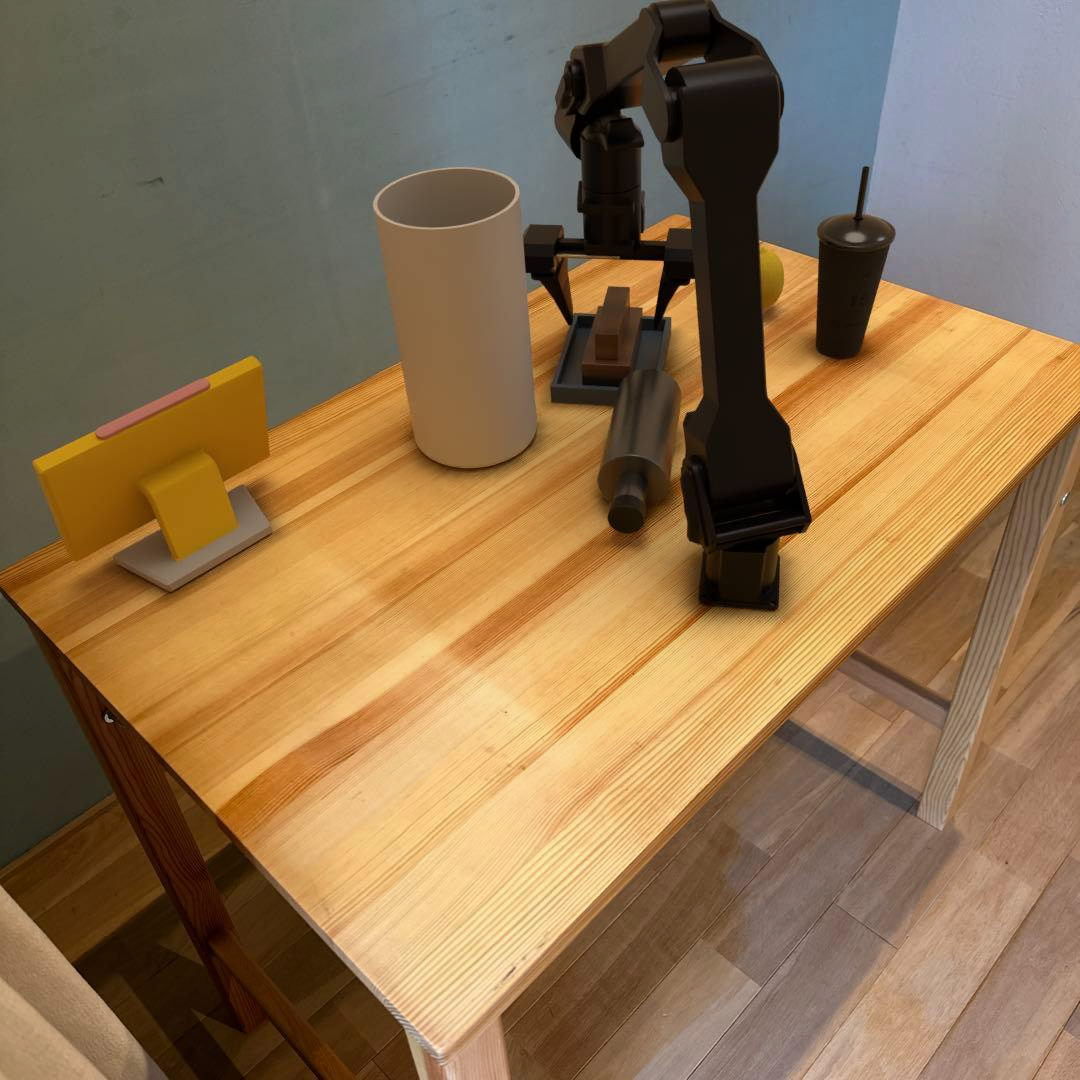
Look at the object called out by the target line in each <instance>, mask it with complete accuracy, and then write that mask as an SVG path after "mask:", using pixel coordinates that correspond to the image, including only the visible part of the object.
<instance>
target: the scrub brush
mask: <svg viewBox="0 0 1080 1080" xmlns="http://www.w3.org/2000/svg"><path fill="white" fill-rule="evenodd" d="M643 311H644V308H643V307H641V306H631V288H630V286H617V285H616V286H615V285H613V286H612V285H608V286H607V289H606V293H605V296H604V299H603V304H602V305H598V306H597V309H596V312H595V314H596V315H595V319H594V322H593V326H592V329H591V333H590V336H589V339H588V343H587V346H586V350H585V353H584V357H583V360H582V385H588V386H607V387H619V385H620V383H621V381H622V380H623V379H624V378H625V377H626V376H627V375H628V374H630V373H632V372H633V371H635V367H636V362H637V358H638V353H639V348H640V344H641V339H642V329H643V320H642V319H643V316H644V314H643Z"/></svg>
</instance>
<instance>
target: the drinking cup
mask: <svg viewBox="0 0 1080 1080" xmlns="http://www.w3.org/2000/svg"><path fill="white" fill-rule="evenodd" d="M861 169H862V170H861V174H860V175H861V176H860V182H859V188H858V194H857V201H856V208H855V212H849V213H843V214H835V215H832V216H829V217H827V218H825V219H823V220H822V221H821V222H820V223H819V224H818V225H817V228H816V235H817V238H818V262H817V263H818V264H817V265H818V267H817V294H816V295H817V296H816V320H815V321H816V323H815V324H816V326H815V349H816V350H817V352H818V353H819V354H821V355H822V356H825V357H827V358H831V359H836V360H844V359H845V360H846V359H850V358H853V357H856V356H857V355H858V354H860V352H861V350H862V347H863V343H864V340H865V336H866V333H867V329H868V325H869V321H870V318H871V315H872V311H873V308H874V304H875V300H876V297H877V294H878V290H879V287H880V282H881V280H882V276H883V272H884V269H885V266H886V261H887V258H888V255H889V251H890V247H891V244H892V243H893V242H894V241H895V238H896V234H897V231H896V228H895V227H894V225H893V224H892V223H890V222H889V221H887V220H885V219H884V218H882V217H881V218H880V217H878V216H874V215H872V214H869V213H863V212H864V207H865V200H866V195H867V189H868V182H869V175H870V171H871V170H870V169H871V167H870V166H869V165H868V166H867V165H865V166H864V165H863V167H862V168H861Z"/></svg>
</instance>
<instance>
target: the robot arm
mask: <svg viewBox="0 0 1080 1080" xmlns="http://www.w3.org/2000/svg"><path fill="white" fill-rule="evenodd" d="M638 14H639V15H638V17H637V18H636V19H635V20H633V21H632V22H631V23H630V24H628V25H627V26H626V27H625V28H624V29H622V30H621V31H620V32H618V33H617V34H616V35H615V36H614V37H612V38H611V39H610V40H604V41H598V42H592V43H584V44H583V43H582V44H579V45H578V44H577V45H574V46H573V47H572V49H571V51H570V55H569V60H566V61H565V63H564V68H563V74H562V76H561V78H560V80H559V83H558V87H557V89H556V93H555V95H554V100H555V106H556V109H555V113H554V116H553V122H554V127H555V129H556V131H557V132H556V133H557V134H558V136H559V137H560V138H561V139H562V140H563V142H564V144H566V146H567V147H568V148H569V150H570V151H571V152H572V154H573V155H574V156H575V158H576V159H577V160H579V161H580V164H581V166H580V168H581V180H578V187H577V193H576V212H577V213H578V214H582V232H583V238H579V237H577V238H576V237H565V228H564V226H563V224H537V223H530V224H529V225H528V226H527V227H526V228H525V230H524V231H523V244H524V257H525V271H526V274H530V279H531V280H533V281H537V282H540V283H541V285H542V286H543V288H545V290H546V291H547V293H548V294H549V295H550V297H551V298H552V299H553V301H554V304H556V306H557V308H558V310H559V312H560V313H561V315H562V317H563V319H564V321H565V323H566V324H567V326H570V325H572V323H573V314H574V305H573V298H572V291H571V284H570V278H569V259H583V260H584V259H585V260H587V259H588V260H611V261H612V260H613V261H614V260H615V261H619V260H620V261H646V262H663V263H662V264H663V266H662V270H661V275H660V280H659V286H658V292H657V299H656V304H655V311H654V315H653V316H654V329H658V328H659V325H660V323H661V320H662V318H663V317H665V316H664V315H665V312H666V311H667V308H668V306H669V303H671V301H672V299H673V297H674V296H675V294H676V292H677V291H678V289H679V288H680V287H686V286H689V285H690V284H691V280H694V286H695V287H694V289H695V300H696V313H697V326H698V328H697V329H698V340H699V342H698V343H699V353H700V355H699V356H700V366H701V367H700V368H701V380H702V397H701V399H700V401H699V403H698V405H697V406H696V409H695V410H691V411H687V412H686V413H685V415H684V419H683V421H682V429H683V437H684V458H683V459H682V461H681V467H680V468H679V469H680V477H679V483H680V489H681V495H682V501H683V512H684V515H685V519H686V538H687V540H688V541H689V542H690V543H694V544H697V545H698V546H701V548H702V549H703V550H702V557H701V558H702V559H701V565H700V566H701V567H700V577H699V586H698V596H697V598H698V599H697V600H698V603H699V604H701V605H707V606H718V607H729V608H738V609H739V608H740V609H750V610H761V611H777V610H779V607H780V581H781V580H780V579H781V578H780V577H781V556H780V555H779V550H780V544H781V543H780V542H781V538H782V537H786V536H787V537H788V536H792V535H796V534H798V535H802V534H805V533H807V531H808V530H809V528H810V526H811V524H812V522H813V517H812V514H811V509H810V506H809V505H810V503H809V501H808V498H807V493H806V489H805V484H804V480H803V476H802V472H801V466H800V464H799V459H798V454H797V451H796V448H795V446H794V444H793V441H792V432H791V427H790V425H789V424H788V422H787V421H786V419H785V418H784V417H783V415H782V414H781V413H780V412H779V410H778V408H776V406H775V405H774V403H773V402H772V401H771V399H770V398H769V396H768V389H767V388H768V387H767V369H766V367H767V366H766V347H765V325H764V309H763V305H762V284H761V264H760V247H761V246H760V227H759V226H760V225H759V205H758V203H759V202H758V201H759V200H758V199H759V198H758V197H759V196H758V195H759V192H760V191H761V189H762V186H763V184H764V182H765V180H766V178H767V176H768V175H769V172H770V171H771V169H772V166H773V164H774V162H775V161H776V158H777V156H778V154H779V152H780V136H781V133H780V132H781V120H782V117H783V114H784V110H785V90H784V83H783V81H782V78H781V75H780V74H779V72H778V70H777V69H776V66H775V65H774V63H773V62H772V60H771V58H770V56H769V55H768V53H767V51H766V49H765V48H764V46H763V44H762V42H761V41H760V40H759V38H756V37H755V36H753V35H752V34H750V33H748V32H747V31H745V30H743V29H742V28H740V27H738V26H737V25H735V24H733V23H731V22H730V21H729V20H726V19H725V18H723V17H722V15H721V14H720V12H719V10H718V7H717V6H716V4H715V3H714V1H712V0H663V1H662V0H661V1H656V2H655V1H654V2H650V4H649V5H648V6H647V7H642V8H641V9H640V11H639V13H638ZM701 58H703V59H704V62H703V61H702V62H697V63H689V62H690V61H692V60H694V59H701ZM687 63H689V64H687ZM664 76H665V77H664ZM640 107H641V108H642V110H643V112H644V114H645V117H646V119H647V122H648V123H649V125H650V127H651V129H652V132H653V134H654V136H655V138H656V139H657V141H658V143H659V144H660V151H661V159H662V165H663V166H664V169H665V170H666V171H667V173H668V174H669V175H670V177H671V178H672V179H673V181H674V182H675V184H676V185H677V186H678V188H679V189H680V191H681V192H682V193H683V195H684V196H685V198H686V199H687V201H688V209H689V221H690V222H689V223H690V228H684V227H683V228H682V227H681V228H680V227H669V228H668V230H667V236H666V240H649V239H648V240H647V239H645V240H643V239H642V234H644V232H645V227H646V206H645V198H646V197H645V196H646V191H645V190H643V189H642V148H644V147H645V140H644V139H645V138H644V136H643V133H642V129H641V127H640V126H639V125H638V124H637V123H636V122H635V121H634V119H633V117H628V116H626V115H623V114H622V110H627V109H632V108H640Z"/></svg>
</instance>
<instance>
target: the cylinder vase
mask: <svg viewBox="0 0 1080 1080" xmlns="http://www.w3.org/2000/svg"><path fill="white" fill-rule="evenodd" d="M372 204H373V205H372V207H373V212H374V218H375V223H376V229H377V235H378V241H379V246H380V252H381V258H382V264H383V269H384V274H385V280H386V285H387V286H386V287H387V291H388V296H389V302H390V307H391V314H392V319H393V326H394V330H395V331H394V332H395V336H396V340H397V342H396V343H397V347H398V353H399V358H400V363H401V364H400V365H401V370H402V375H403V381H404V387H405V392H406V397H407V404H408V408H409V414H410V421H411V424H412V425H411V426H412V431H413V437H414V440H415V443H416V445H417V447H418V449H419V450H420V452H422V453H423V454H424V455H425V456H427V458H429V459H430V460H432V461H434V462H435V463H439V464H441V465H444V466H448V467H453V468H457V469H458V468H459V469H479V468H480V469H481V468H487V467H491V466H495V465H498V464H501V463H503V462H506V461H509V460H511V459H512V458H515V457H516V456H517V455H519V454H521V453H522V452H524V450H525V449H527V447H528V446H529V445H530V444H531V442H532V441H533V439H534V437H535V434H536V432H537V428H538V417H537V404H536V403H537V402H536V391H535V390H536V389H535V380H534V379H535V378H534V365H533V364H534V363H533V352H532V351H533V350H532V338H531V337H532V336H531V324H530V310H529V300H528V299H529V298H528V285H527V273H526V271H525V257H524V244H523V233H524V231H523V219H522V206H521V205H522V204H521V194H520V187H519V185H518V183H517V182H516V181H515V180H514V179H513V178H511V177H510V176H508V175H506V174H503V173H501V172H498V171H495V170H492V169H487V168H482V167H481V168H479V167H468V166H460V167H459V166H458V167H457V166H453V167H452V166H451V167H444V168H443V167H442V168H434V169H429V170H424V171H420V172H419V171H418V172H415V173H411V174H409V175H406V176H403V177H401V178H399V179H397V180H394V181H392V182H391V183H389V184H387V185H386V186H385V187H383V188H382V189H381V190H380V191H379V192H378V193H377V194H376V195H375V196H374V198H373V203H372Z"/></svg>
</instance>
